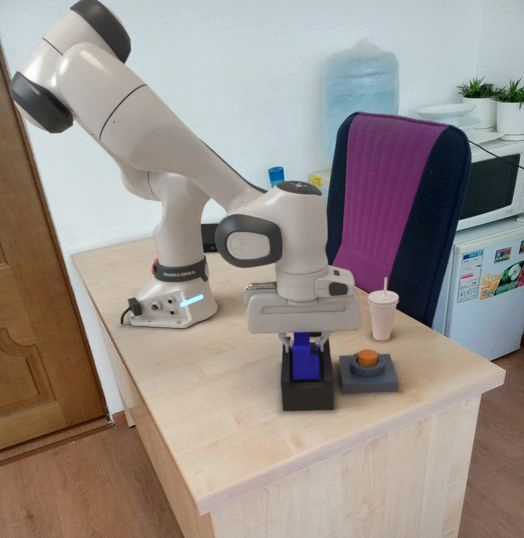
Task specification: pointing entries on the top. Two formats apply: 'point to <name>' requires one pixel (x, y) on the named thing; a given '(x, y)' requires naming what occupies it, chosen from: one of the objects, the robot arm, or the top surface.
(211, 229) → the external hard drive
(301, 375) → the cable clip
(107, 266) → the top surface
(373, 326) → the smoothie
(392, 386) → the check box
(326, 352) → the inspection stand
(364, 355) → the button
